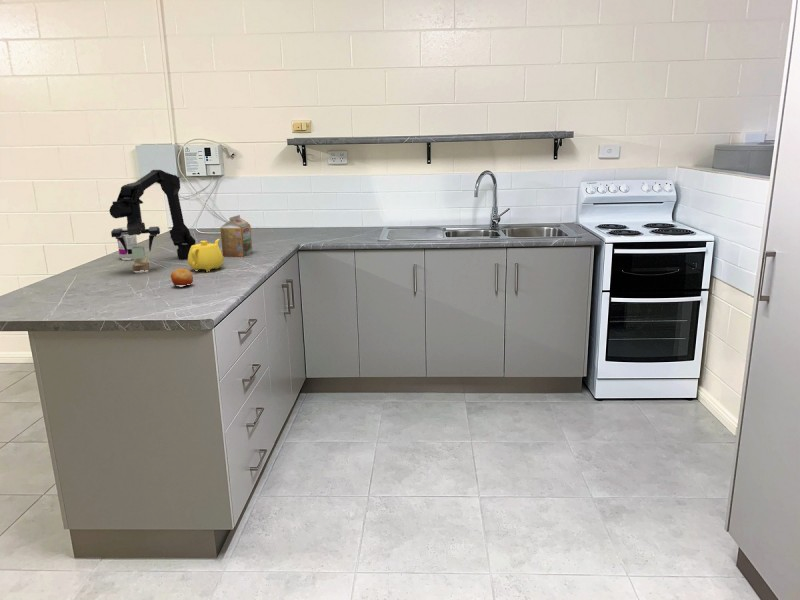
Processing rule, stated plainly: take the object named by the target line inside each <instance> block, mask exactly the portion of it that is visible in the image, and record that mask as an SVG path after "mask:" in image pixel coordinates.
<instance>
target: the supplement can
mask: <svg viewBox="0 0 800 600" xmlns="http://www.w3.org/2000/svg"><path fill="white" fill-rule="evenodd" d="M117 229H123V230H127V226H124V227H117ZM124 237H125V241H126V245H127V251H128V252H127V253H126V251H125V249H124V247H123V245H122V243H121V242H120V241H119V240H118V239H116V240H117V245H118V247H117V248H118V254H119V258H120V257H121V258H133V255H132V247H138V241H137V235H128V234H126V235H124Z"/></svg>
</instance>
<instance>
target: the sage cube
mask: <svg viewBox="0 0 800 600" xmlns="http://www.w3.org/2000/svg"><path fill="white" fill-rule="evenodd" d="M145 250H146V249H145V246H144V245H142V246H138V245H137V247H132V255H133V259H141V258H145V256H146V251H145Z"/></svg>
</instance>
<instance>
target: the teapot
mask: <svg viewBox="0 0 800 600" xmlns="http://www.w3.org/2000/svg"><path fill="white" fill-rule="evenodd" d="M220 241H221V238H217V239H216V240H215V241H214V243H211V242H209V243H208V240H200V243H195V245H192V246H191V248H190V251H189V254H188V259H187V264H188V266H189V267H190V268H191V269H193V271H194V270H199V269H200V270H204V271H205V270H206V271H209V270H211V271H212V270H213V269H214V268H220V267H222V266H223V264H224V257H223V252H222V250H221V248H220V247H219V246H220V245H219V242H220ZM200 270H199V271H200Z"/></svg>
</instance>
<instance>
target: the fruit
mask: <svg viewBox="0 0 800 600" xmlns="http://www.w3.org/2000/svg"><path fill="white" fill-rule="evenodd" d="M170 279H171V281H172V284H173V286H174V285H187V284H191V283H192V284H193V282H194V276H193V272H192V271H190V270H189V269H186V268H184V267H183V268H182V267H180V268H177V269H175V270H173V271H172V273H171V274H170ZM192 284H191V285H192Z"/></svg>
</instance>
